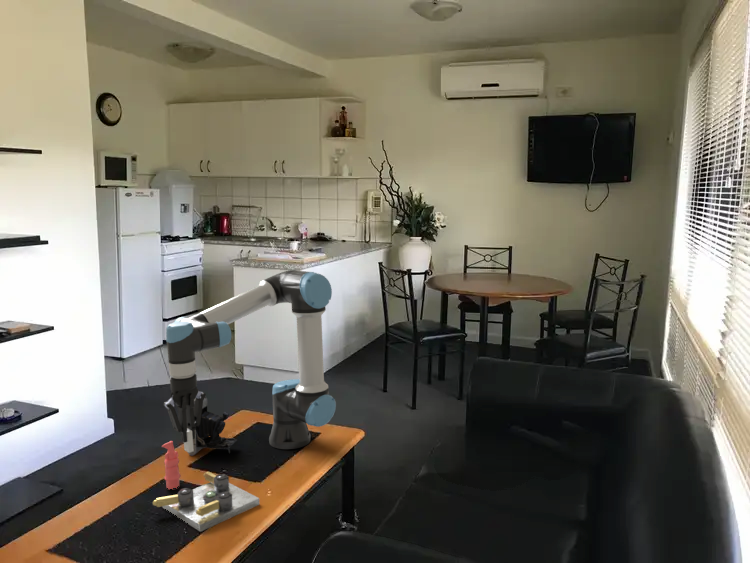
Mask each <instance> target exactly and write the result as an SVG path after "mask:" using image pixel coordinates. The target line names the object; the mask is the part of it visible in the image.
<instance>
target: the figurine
mask: <svg viewBox="0 0 750 563" xmlns="http://www.w3.org/2000/svg"><path fill="white" fill-rule="evenodd" d="M161 448H165V449H166V450H167V452H166V453H165V455H164V468H165V473H164V474H165V476H164V478H163V479H164V480H165V483H166V485H165V486H166V489H167V488H168V489H167V490H170V489H172V490H174V489H173V488H176V489H178V488H179V487H180V478H181V477H182V476H181V473H180V468H179V463H180V458H179V452H178V451H176V450H175V447H174V441H173V440H170V441H169V442H166V443H164V444H162V445H161ZM178 486H179V487H178ZM177 487H178V488H177Z"/></svg>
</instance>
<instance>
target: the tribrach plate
mask: <svg viewBox="0 0 750 563" xmlns="http://www.w3.org/2000/svg"><path fill="white" fill-rule="evenodd" d="M192 490H193V495H194V503H193V504H191V505H189V506H179V505H178V504H172V505H167V506H162V509H164V510H165V509H166V511H167V510H168V511H169V512H168V511H167V512H168V513H170V512H171V513H172V515H173V514H174V515H173V516H175V515H176V516H177V517H176V516H175V517H176V518H178V519H179V518H180V519H179V520H181V519H182V520H183V522H184V521H185V522H184V523H185V524H187V523H188V524H187V525H189V526H190V527H192V528H193V529H195V530H197V531H198V532H204V531H205V530H208V529H210V528H211V527H214V526H216V525H218V524H220V523H222V522H225V521H227V520H229V519H231V518H234V517H235V516H237V515H240V514H242V513H244V512H247V511H249V510H250V509H251V510H252V509H253V508H256V507H257V506H259V505H260V497H258V496H256V495H254V494H252V493H249V492H248V491H246V490H244V489H242V488H240V487H238V486H236V485H234V484H232V483H230V482H229V488H228V489H227V490H225V491H215V490H214V484H213V483H211V482H208V483H205V484H202V485H200V486H198V487H195V488H193V489H192ZM221 492H229V493H231V494H232V508H230V509H228V510H218V509H217V510H215V511H213V512H210V513H208V514H206V515H203V516H200V515H197V514H196V511H197V510H198V509H199V507H201V506H203V505H206V504H208V503H210V502H213V501H215V500H216V496H217V495H218V494H219V493H221ZM171 513H170V514H171ZM182 520H181V521H182Z"/></svg>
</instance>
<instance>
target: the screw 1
mask: <svg viewBox="0 0 750 563" xmlns="http://www.w3.org/2000/svg"><path fill="white" fill-rule="evenodd" d="M193 503H194V495H193V490H192V489H191V488H190V487H184V488H180V489H179V491H178V492H177V494H173V495H167V496H161V497H156V499H154V500H153V501H152V506H154V507H155V506H156V507H157V508H160V507H163V506H167V505H172V504H178V505H179V506H189V505H191V504H193Z"/></svg>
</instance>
